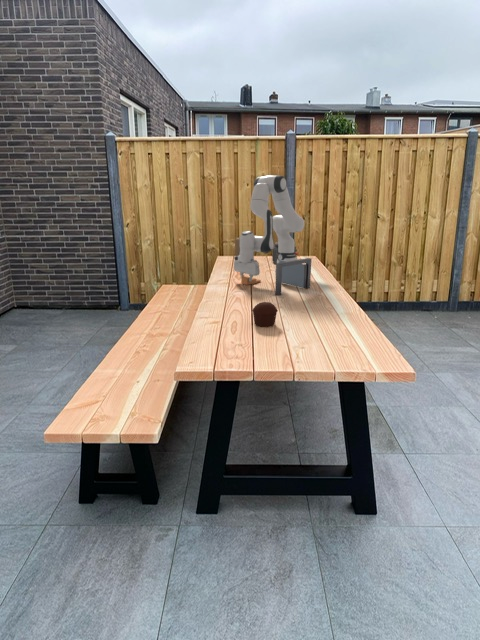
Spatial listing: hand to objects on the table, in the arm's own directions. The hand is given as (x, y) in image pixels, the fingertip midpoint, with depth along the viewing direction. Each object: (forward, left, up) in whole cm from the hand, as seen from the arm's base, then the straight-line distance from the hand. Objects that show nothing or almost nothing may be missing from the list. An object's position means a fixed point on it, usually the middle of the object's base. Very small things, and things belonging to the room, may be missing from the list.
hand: (246, 280), depth 283 cm
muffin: (+48, +66, -2) cm, 82 cm away
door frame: (-8, +32, -2) cm, 33 cm away
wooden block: (-41, -50, -2) cm, 65 cm away
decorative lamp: (-71, -35, -2) cm, 79 cm away
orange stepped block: (-4, 0, -2) cm, 4 cm away
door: (-18, +22, -2) cm, 28 cm away
